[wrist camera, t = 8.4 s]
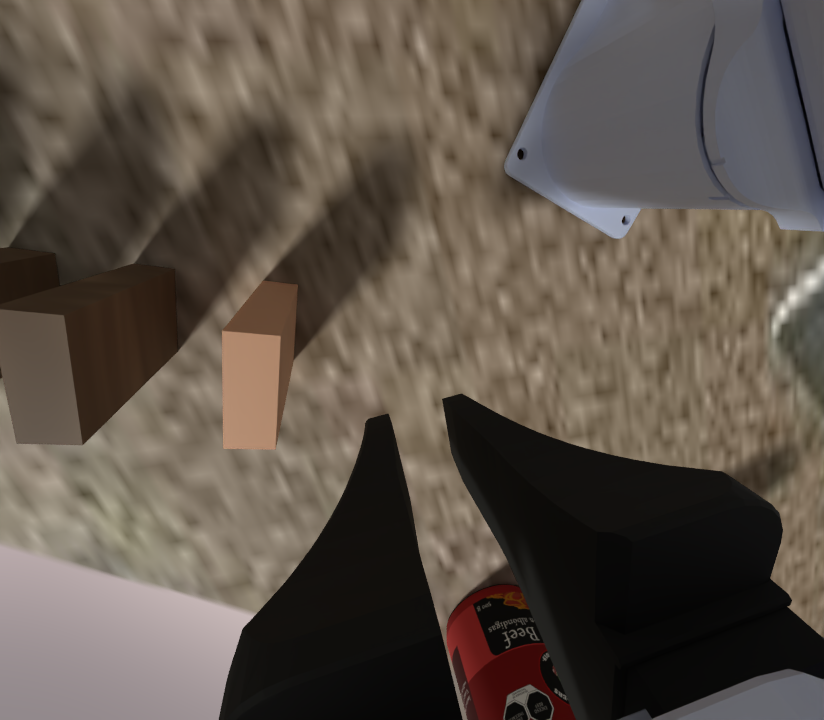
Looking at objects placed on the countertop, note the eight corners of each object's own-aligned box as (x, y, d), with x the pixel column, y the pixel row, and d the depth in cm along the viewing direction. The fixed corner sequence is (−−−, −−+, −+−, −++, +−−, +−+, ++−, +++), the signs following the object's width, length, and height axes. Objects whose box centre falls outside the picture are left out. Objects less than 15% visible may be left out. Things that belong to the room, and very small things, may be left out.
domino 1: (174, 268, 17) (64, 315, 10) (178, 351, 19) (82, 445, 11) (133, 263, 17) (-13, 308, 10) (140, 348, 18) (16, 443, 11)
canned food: (549, 591, 32) (651, 766, 22) (496, 654, 34) (568, 842, 24) (479, 571, 29) (559, 762, 19) (425, 641, 31) (473, 847, 21)
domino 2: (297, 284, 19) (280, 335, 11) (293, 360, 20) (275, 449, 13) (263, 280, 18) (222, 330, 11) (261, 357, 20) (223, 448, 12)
